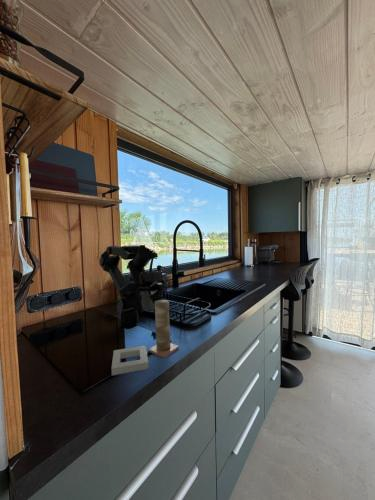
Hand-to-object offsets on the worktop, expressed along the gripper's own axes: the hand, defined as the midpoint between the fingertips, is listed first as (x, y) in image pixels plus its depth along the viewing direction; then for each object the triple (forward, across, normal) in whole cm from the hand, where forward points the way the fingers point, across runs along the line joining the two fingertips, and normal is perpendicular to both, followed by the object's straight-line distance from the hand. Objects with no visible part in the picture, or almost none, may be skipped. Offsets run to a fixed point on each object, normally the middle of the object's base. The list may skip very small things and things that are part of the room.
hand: (150, 310), depth 81 cm
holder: (+14, -12, +4) cm, 18 cm away
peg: (+13, -1, -1) cm, 14 cm away
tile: (+14, -1, -1) cm, 14 cm away
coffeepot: (-7, +25, +22) cm, 34 cm away
